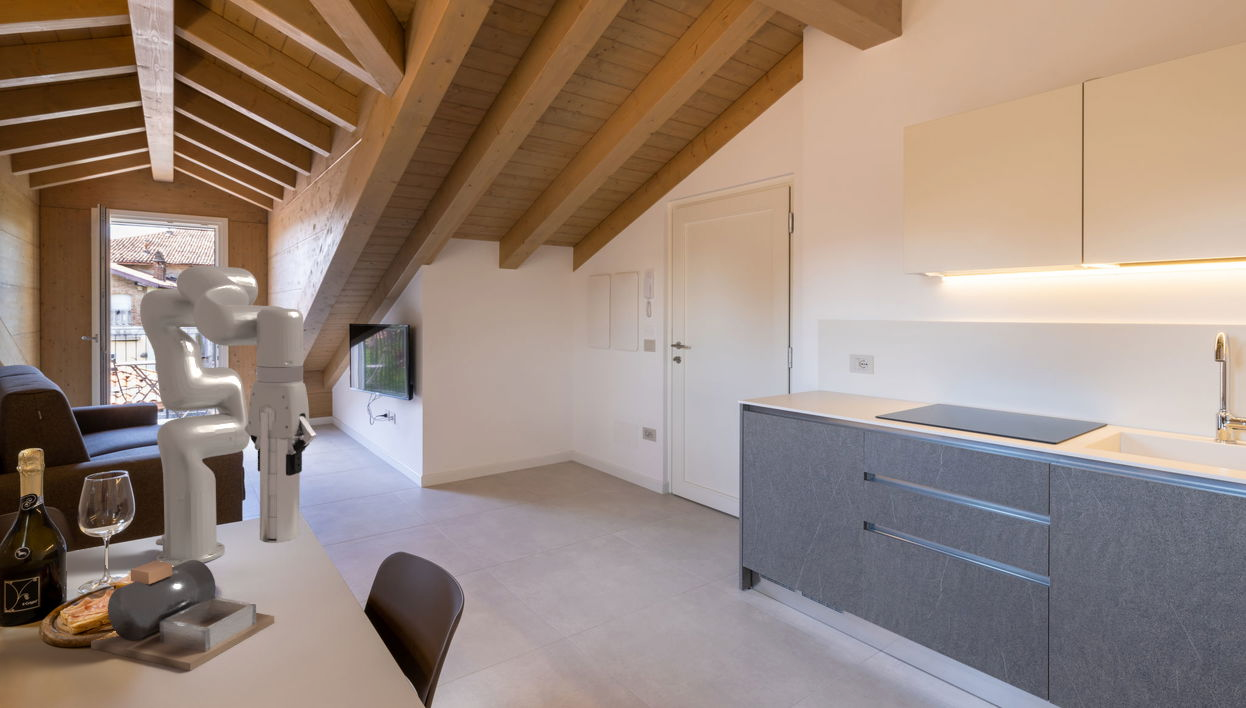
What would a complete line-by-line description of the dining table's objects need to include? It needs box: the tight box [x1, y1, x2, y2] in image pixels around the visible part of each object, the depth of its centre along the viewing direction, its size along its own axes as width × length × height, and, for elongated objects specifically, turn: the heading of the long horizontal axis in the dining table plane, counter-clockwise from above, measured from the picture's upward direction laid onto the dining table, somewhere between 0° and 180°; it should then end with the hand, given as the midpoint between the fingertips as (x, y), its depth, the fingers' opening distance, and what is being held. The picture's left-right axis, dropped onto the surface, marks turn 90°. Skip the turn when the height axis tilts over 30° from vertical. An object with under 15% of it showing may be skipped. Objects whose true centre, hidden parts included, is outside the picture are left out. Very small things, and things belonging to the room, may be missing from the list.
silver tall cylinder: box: [259, 408, 301, 544], centre depth 116 cm, size 6×6×25 cm
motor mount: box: [90, 560, 275, 672], centre depth 106 cm, size 21×16×12 cm
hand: (279, 470), depth 116 cm, fingers closed on silver tall cylinder, 5 cm apart
